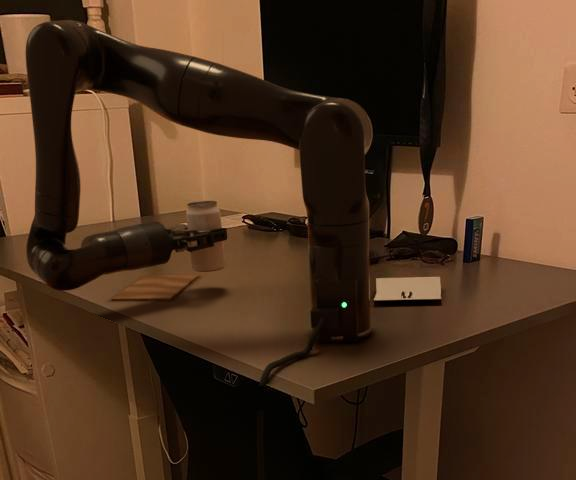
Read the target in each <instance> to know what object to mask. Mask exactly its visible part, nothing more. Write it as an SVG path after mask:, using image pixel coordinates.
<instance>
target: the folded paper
mask: <svg viewBox="0 0 576 480" xmlns="http://www.w3.org/2000/svg"><path fill="white" fill-rule="evenodd" d="M375 284H376V285H375V287H376V293H375V295H374V298H373V301H398V300H399V301H404V300H407V301H408V300H409V301H410V300H442V296H441V295H442V284H441V277H440V276H416V277H415V276H414V277H413V276H412V277H410V276H409V277H380V278H378V277H376V278H375Z"/></svg>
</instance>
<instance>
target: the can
mask: <svg viewBox="0 0 576 480" xmlns="http://www.w3.org/2000/svg"><path fill="white" fill-rule="evenodd" d="M221 216H222V215H221V211H220V207H219V206H218V202H217V200H199V201H192V202H189V203H187V209H186V212H185V218H186V226H187V228H188V229H197V231H206V230H213V229H218V228H223V226H222V225H223V224H222V217H221ZM190 234H191V236H193V235H194V234H193V233H190ZM204 242H205V237H204ZM189 253H190V261H191V269H193V271H195V272H199V273H211V272H217V271H221V270H223V269H224V268H225V267H226V256H225V255H226V254H225V245H224V241H220V242H215V243H214V246H213V247H208V248H204V249H200V250H196V251H192V252H189Z"/></svg>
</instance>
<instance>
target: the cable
mask: <svg viewBox="0 0 576 480" xmlns="http://www.w3.org/2000/svg"><path fill="white" fill-rule="evenodd" d="M369 255H370V256H369V257H370V264H372V263H373V264H374V263H375V262H377V261H378V260H380V259H384V258H389V257H394V258H395V259H407V258H413V257H419V256H420V251H419V252H412V253H407V254H406V253H404V254H400V252H399V251H396V249H394V251H392V253H390V254H383V255H380V253H379V251H378V250H375V249H371V248H369Z"/></svg>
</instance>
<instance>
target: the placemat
mask: <svg viewBox="0 0 576 480" xmlns="http://www.w3.org/2000/svg"><path fill="white" fill-rule="evenodd" d="M198 278H199V275H198V274H187V275H186V274H183V275H179V274H177V275H143V276H142V277H141V278H139V279H138V280H136V281H135V282H134V283H132V284H131V285H129V286H128V287H126V288H125V289H123V290H122V291H120V292H119V293H118V294H116V295H115V296H113V297H112V298H111V301H114V302H115V301H172V299H174V298H175V297H176V296H177V295H178V294H179V293H181V292H182V291H183V290H185V288H187V287H188V286H189V285H190V284H192V283H193V282H194V281H195V280H196V279H198Z"/></svg>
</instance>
